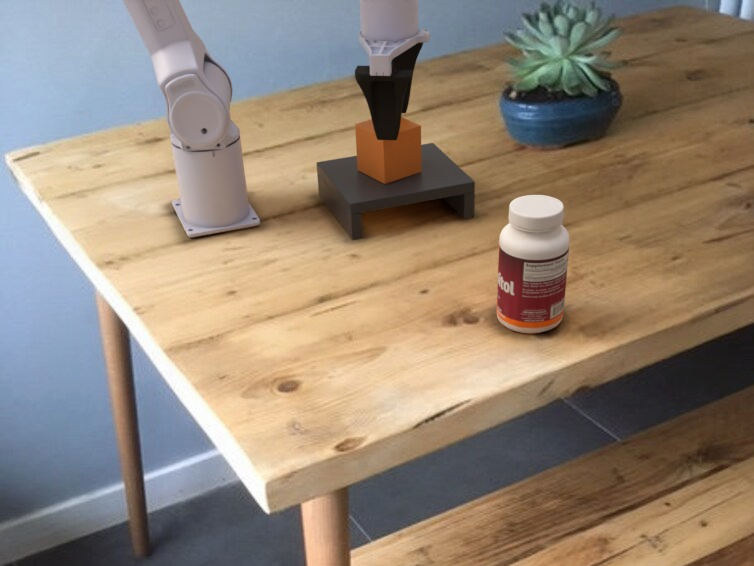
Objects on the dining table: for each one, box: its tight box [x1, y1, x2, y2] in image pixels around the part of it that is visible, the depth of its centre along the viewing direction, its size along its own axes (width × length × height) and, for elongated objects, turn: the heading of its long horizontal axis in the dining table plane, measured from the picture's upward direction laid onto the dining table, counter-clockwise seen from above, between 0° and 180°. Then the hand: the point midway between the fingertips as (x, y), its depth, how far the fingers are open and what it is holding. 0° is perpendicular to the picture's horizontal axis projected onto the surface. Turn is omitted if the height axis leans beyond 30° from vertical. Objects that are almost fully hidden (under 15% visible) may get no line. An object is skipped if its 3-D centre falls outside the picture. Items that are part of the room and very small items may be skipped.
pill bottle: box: [496, 194, 571, 334], centre depth 93 cm, size 6×6×11 cm
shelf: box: [316, 142, 476, 241], centre depth 114 cm, size 12×14×4 cm
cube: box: [354, 116, 422, 184], centre depth 111 cm, size 5×5×5 cm
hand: (392, 125), depth 110 cm, fingers open, 7 cm apart
